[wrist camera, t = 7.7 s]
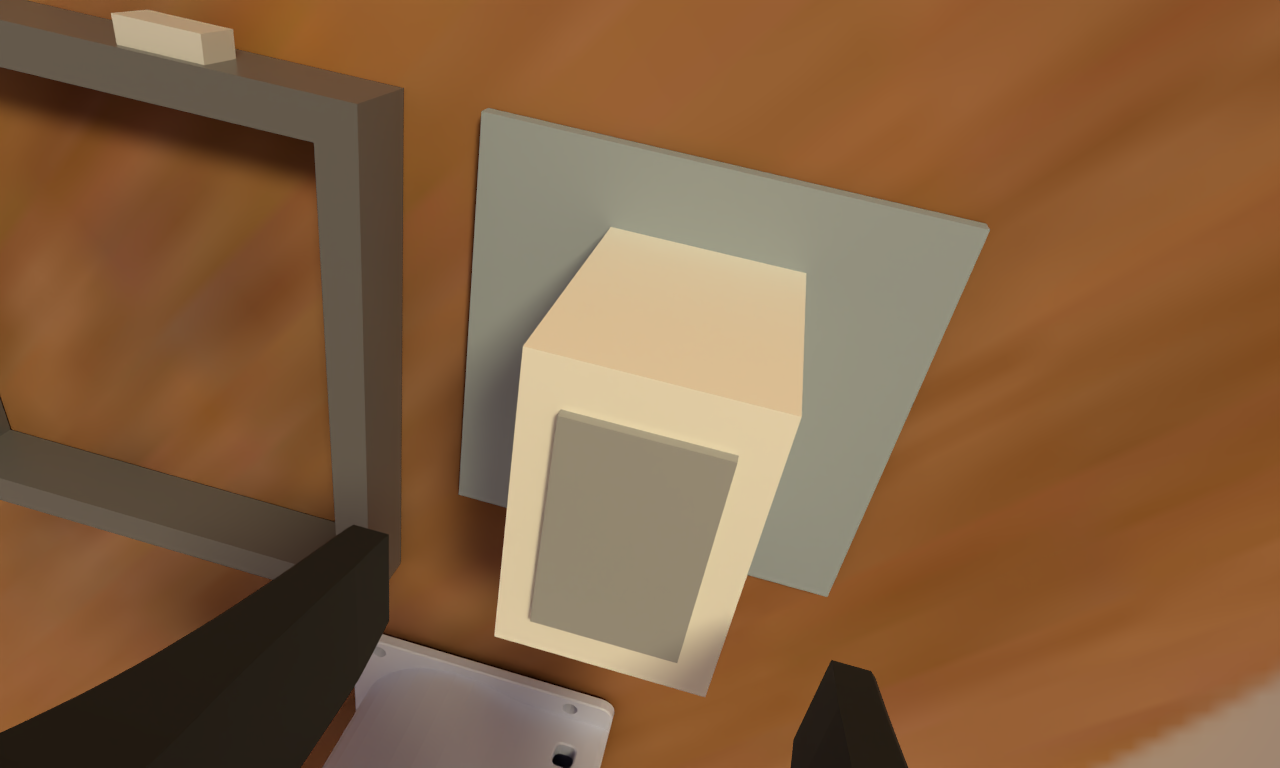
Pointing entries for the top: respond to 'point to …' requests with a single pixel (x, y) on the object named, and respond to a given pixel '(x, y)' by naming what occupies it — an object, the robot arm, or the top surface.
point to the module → (649, 455)
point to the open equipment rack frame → (350, 271)
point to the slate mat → (738, 226)
